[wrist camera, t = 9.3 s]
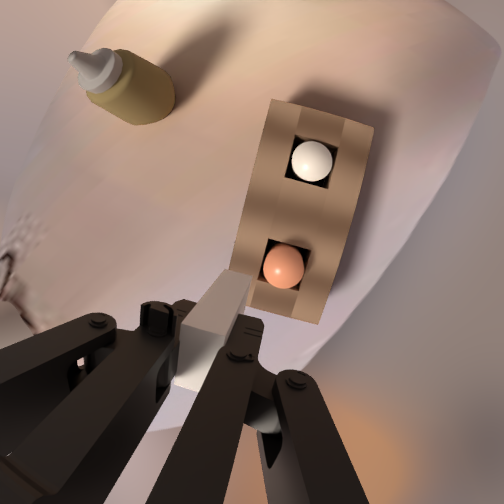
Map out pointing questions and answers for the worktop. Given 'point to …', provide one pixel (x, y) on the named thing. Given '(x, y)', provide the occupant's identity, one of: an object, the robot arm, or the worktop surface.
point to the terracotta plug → (283, 265)
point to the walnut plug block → (300, 207)
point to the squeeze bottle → (125, 85)
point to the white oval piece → (311, 162)
